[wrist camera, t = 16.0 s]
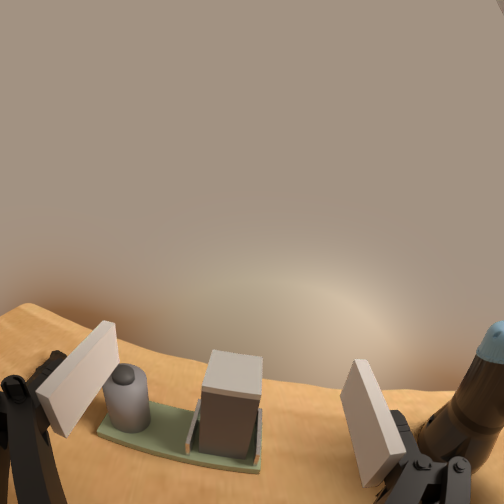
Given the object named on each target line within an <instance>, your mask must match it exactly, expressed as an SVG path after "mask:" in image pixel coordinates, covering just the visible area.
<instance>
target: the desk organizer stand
mask: <svg viewBox="0 0 504 504" xmlns="http://www.w3.org/2000/svg"><path fill="white" fill-rule="evenodd" d="M102 388H103V392H104V397H105V401H106V405H107V409H108V413H107V414H106V416H105V418H104V419H103V421H102V423H101V424H100V426H99V428H98V429H97V434H98V436H99V437H102V438H104V439H107V440H110V441H112V442H115V443H118V444H121V445H124V446H127V447H130V448H133V449H136V450H139V451H142V452H146V453H149V454H152V455H156V456H160V457H163V458H167V459H171V460H175V461H180V462H184V463H189V464H193V465H198V466H204V467H209V468H215V469H221V470H228V471H235V472H243V473H253V474H259V472H260V467H261V452H260V458H259V461H258V464H257V467H255V466H253V453H254V438H255V424H254V428H253V432H252V436H251V440H250V444H249V447H248V451H247V455H246V459H245V460H242V459H234V458H227V457H221V456H215V455H209V454H203V453H199V432H200V420H199V423H198V427H197V431H196V434H195V438H194V442H193V446H192V449H191V453H190V456H186V447H185V443H186V439H187V436H188V433H189V429H190V426H191V423H192V419H193V416H194V411H189V410H184V409H180V408H176V407H171V406H167V405H163V404H159V403H155V402H152V401H149V398H148V388H147V378H146V374H145V373H144V371H143V370H142V369H140V368H139V367H137V366H135V365H131V364H125V363H121V364H118V365H117V366H116V368H115V369H114V371H113V372H112V373H111V375H110V376H109V378H108V379H107V380H106V382H105V383H104V385H103V386H102ZM261 444H262V429H261Z"/></svg>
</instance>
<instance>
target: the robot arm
mask: <svg viewBox="0 0 504 504" xmlns="http://www.w3.org/2000/svg"><path fill="white" fill-rule="evenodd" d="M497 3H498V5H499V7H500V9H501V11H502V13H503V15H504V0H497ZM119 362H120V361H119V354H118V346H117V338H116V329H115V323H112V322H108V321H104V320H103V321H102V322H101V323H100V324H99V325H98V326H97V327H96V328H95V329H94V330H93V331H92V332H91V333H90V334H89V335H88V336H87V337H86V338H85V339H84V340H83V341H82V342H81V343H80V344H79V345H78V346H77V347H76V348H75V349H74V351H73V352H72V353H71V354H70V355H69V356H68V357H67V358H66V359H65V360H64V359H62V358H58V359H56V360H54V361H52V362H51V363H50V364H49V365H48V366H47V367H46V369H44V370H43V371H42V372H41V373H40V374H39V375H38V376H37V377H36V378H35V379H34V380H33V381H32V382H31V383H30V384H29V386H28V387H27V385H26V382H25V380H24V379H23V378H22V377H21V376H18V375H10V376H8V377H6V378H4V379H3V381H2V382H1V387H2V390H3V392H1V391H0V504H7V494H8V478H9V468H10V460H11V467H12V474H13V480H14V485H15V490H16V495H17V500H18V504H67V501H66V498H65V495H64V492H63V489H62V485H61V482H60V479H59V475H58V472H57V468H56V464H55V460H54V456H53V452H52V447H51V443H50V438H49V433H48V431H47V428H48V427H49V425H51V427H52V429H53V431H54V432H55V433H57V434H59V435H61V436H63V437H65V438H67V437H68V436H69V434H70V433H71V431H72V430H73V428H74V427H75V425H76V424H77V422H78V421H79V419H80V418H81V416H82V415H83V413H84V412H85V410H86V409H87V408H88V406H89V405H90V403H91V402H92V400H93V399H94V397H95V396H96V395H97V393H98V392H99V390H100V389H101V387H102V386H103V385H104V383H105V382H106V380H107V379H108V378H109V376H110V375H111V373H112V372H113V371H114V369H115V368H116V366H117V365H118V364H119ZM340 398H341V401H342V405H343V409H344V413H345V416H346V420H347V424H348V428H349V432H350V436H351V440H352V444H353V448H354V452H355V456H356V460H357V465H358V469H359V473H360V478H361V482H362V487H363V488H367V487H374V486H378V485H379V484H380V483H381V482H382V481H383V480H384V482H385V485H386V486H385V487H384V488H383V489H382V490H381V491H380V492H379V493H378V494H377V495H376V497H377V499H376V500H375V502H374V503H373V504H470V497H471V475H472V474H473V473H475V472H476V471H477V470H478V469H479V468H480V467H481V466H482V465H483V464H484V463H485V462H486V461H487V459H488V458H489V456H490V453H491V451H492V449H493V447H494V445H495V442H496V440H497V438H498V435H499V433H500V431H501V430H502V428H503V427H504V321H499V322H496V323H494V324H493V325H492V326H491V327H490V328H489V329H488V331H487V333H486V335H485V337H484V339H483V341H482V343H481V345H480V346H479V347H478V348H477V351H476V356H475V358H474V360H473V362H472V364H471V366H470V368H469V369H468V371H467V373H466V375H465V377H464V379H463V380H462V382H461V384H460V386H459V387H458V389H457V391H456V392H455V394H454V396H453V397H452V399H451V400H450V401H449V402H448V403H446V404H445V405H444V406H443V407H442V408H441V409H439V410H438V411H437V412H436V413H435V414H433V415H432V416H431V417H430V418H429V419H428V420H427V422H426V423H425V425H424V426H423V427H422V429H421V431H420V433H419V436H418V446H419V448H418V446H417V443H416V441H415V439H414V437H413V434H412V432H410V428H409V426H408V423H407V421H406V419H405V417H404V415H403V414H402V413H401V412H400V411H399V410H389V408H388V406H387V403H386V401H385V399H384V396H383V394H382V392H381V390H380V388H379V385H378V383H377V381H376V379H375V376H374V374H373V372H372V370H371V368H370V365H369V363H368V361H367V360H362V359H355V360H354V361H353V364H352V367H351V369H350V372H349V375H348V377H347V380H346V382H345V385H344V387H343V390H342V392H341V394H340Z"/></svg>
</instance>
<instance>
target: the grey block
mask: <svg viewBox="0 0 504 504" xmlns="http://www.w3.org/2000/svg"><path fill="white" fill-rule="evenodd" d="M262 365H263V357H258V356H251V355H244V354H237V353H231V352H225V351H218V350H213V351H212V354H211V357H210V360H209V364H208V367H207V370H206V374H205V377H204V380H203V383H202V391H201V410H200V432H199V453H203V454H209V455H215V456H221V457H227V458H234V459H242V460H245V459H246V455H247V451H248V447H249V444H250V440H251V436H252V432H253V428H254V423H255V419H256V415H257V411H258V407H259V403H260V398H261V391H262Z"/></svg>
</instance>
